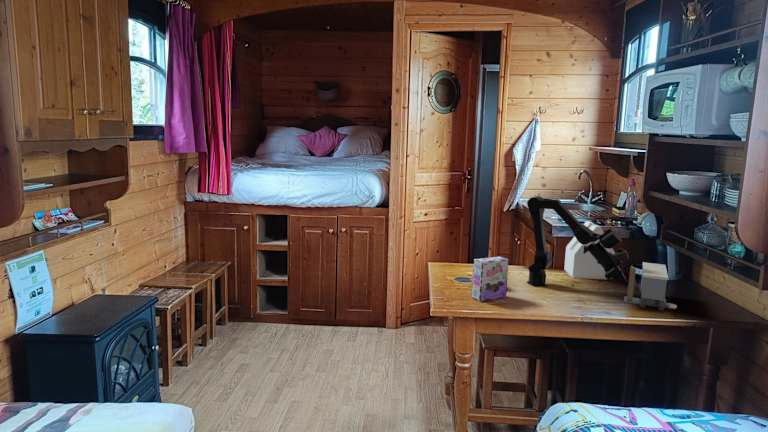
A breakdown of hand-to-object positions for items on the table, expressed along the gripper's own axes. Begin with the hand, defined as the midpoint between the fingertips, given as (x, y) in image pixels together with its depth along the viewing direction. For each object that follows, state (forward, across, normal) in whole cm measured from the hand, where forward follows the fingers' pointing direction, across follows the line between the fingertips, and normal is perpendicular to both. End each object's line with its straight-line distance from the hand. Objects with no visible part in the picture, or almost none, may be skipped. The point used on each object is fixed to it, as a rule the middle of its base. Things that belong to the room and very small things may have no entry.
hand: (627, 284), depth 214 cm
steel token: (+16, 0, -7) cm, 18 cm away
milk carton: (-7, +35, +17) cm, 40 cm away
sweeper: (+9, 0, 0) cm, 9 cm away
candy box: (-31, -26, +41) cm, 57 cm away
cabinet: (+11, +4, -2) cm, 12 cm away
